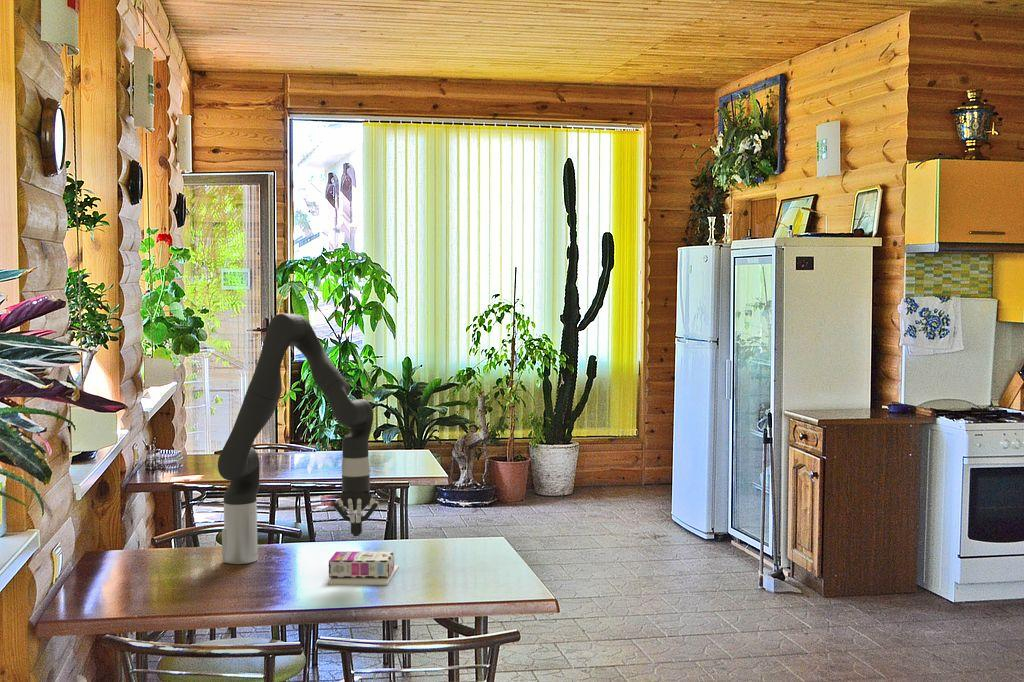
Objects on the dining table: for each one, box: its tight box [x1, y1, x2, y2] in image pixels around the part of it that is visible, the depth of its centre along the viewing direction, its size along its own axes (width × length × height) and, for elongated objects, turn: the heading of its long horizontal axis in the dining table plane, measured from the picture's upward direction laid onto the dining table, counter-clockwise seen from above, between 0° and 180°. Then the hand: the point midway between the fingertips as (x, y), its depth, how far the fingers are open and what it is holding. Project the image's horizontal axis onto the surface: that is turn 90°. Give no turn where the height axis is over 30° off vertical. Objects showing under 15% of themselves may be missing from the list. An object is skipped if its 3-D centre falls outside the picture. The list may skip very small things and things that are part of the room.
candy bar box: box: [328, 550, 395, 579], centre depth 296 cm, size 11×5×16 cm
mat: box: [327, 564, 400, 586], centre depth 296 cm, size 16×18×1 cm
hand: (356, 535), depth 296 cm, fingers closed
